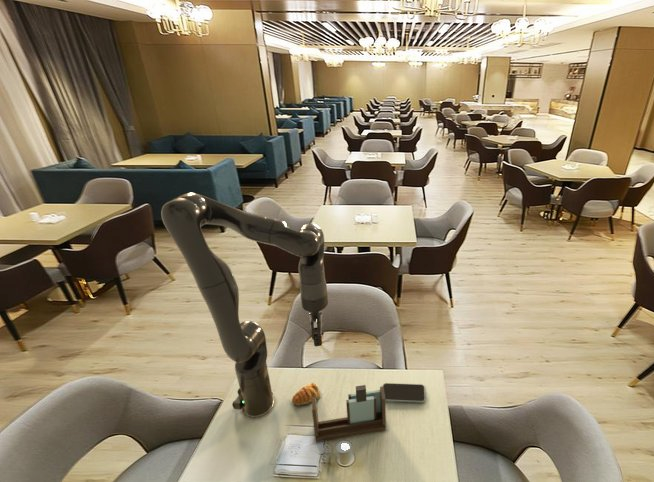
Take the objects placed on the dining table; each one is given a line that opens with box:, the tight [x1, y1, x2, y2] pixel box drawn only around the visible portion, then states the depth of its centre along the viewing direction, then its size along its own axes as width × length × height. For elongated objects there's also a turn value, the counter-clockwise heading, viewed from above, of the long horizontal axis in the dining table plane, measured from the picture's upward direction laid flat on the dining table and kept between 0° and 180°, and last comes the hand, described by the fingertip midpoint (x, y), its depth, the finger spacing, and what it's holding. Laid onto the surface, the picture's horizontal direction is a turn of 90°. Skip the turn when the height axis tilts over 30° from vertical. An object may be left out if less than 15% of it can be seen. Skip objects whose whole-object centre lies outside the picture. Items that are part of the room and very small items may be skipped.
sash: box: [345, 384, 377, 424], centre depth 110 cm, size 2×9×15 cm, turn 102°
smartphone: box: [382, 382, 426, 404], centre depth 126 cm, size 7×1×15 cm
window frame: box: [311, 385, 387, 443], centre depth 110 cm, size 6×22×14 cm, turn 102°
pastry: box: [291, 382, 322, 407], centre depth 123 cm, size 9×7×4 cm
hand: (318, 336), depth 108 cm, fingers open, 8 cm apart
